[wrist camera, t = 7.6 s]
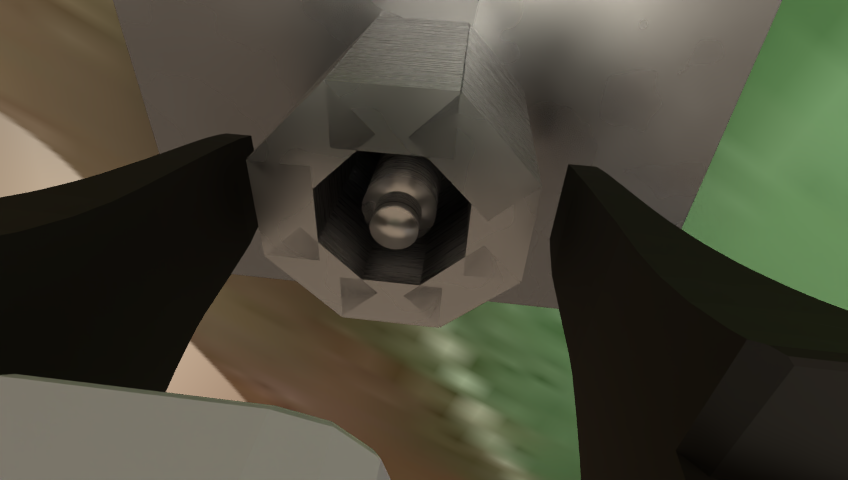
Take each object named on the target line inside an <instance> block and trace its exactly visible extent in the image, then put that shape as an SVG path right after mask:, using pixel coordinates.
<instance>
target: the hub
mask: <svg viewBox="0 0 848 480" xmlns="http://www.w3.org/2000/svg"><path fill="white" fill-rule="evenodd" d="M380 153H391V154H402V155H413V156H424V157H427V158H428V159H429V160H430V161H431V162H432V163H433V164H434V165H435V166H436V167H437V168H438V169H439V170H440V171H441V172H442V179H441V185H440V192H439V198H438V204H437V211H436V217H435V221H434V224H433V226H432V227H431V229H430V230H429V231H428V232H427V233H426V234H425V235H423V236H422V237H420V238H418V239H416V240H415V242H414V243H413V244H412V245H410V246H409V247H406V248H403V249H389V248H386V247H384V246H382V245H380V244H379V243H377V242H376V241H375V240H374V238H373V237H372V235H371V233H370V228H369V227H370V226H369V225H368V224H367V222H366V220H365V218H364V215H363V211H362V202H363V198H364V196H365V193H366V191H367V188H368V186H369V183H370V181H371V178H372V176H373V173H374V171H375V168H376V166H377V163H378V161H379V158H380V156H381V154H380ZM246 163H247V168H248V173H249V179H250V184H251V189H252V194H253V200H254V205H255V210H256V216H257V221H258V226H259V231H260V237H261V242H262V247H263V252H264V255H265V257H267V258H268V259H269V260H270V261H272V262H273V263H274V264H275V265H277V266H278V267H279V268H281V269H282V270H283V271H284V272H286V273H287V274H288V275H289V276H291V277H292V278H293V279H294V280H296V281H297V282H298V283H300V284H301V285H302V286H303V287H305V288H306V289H307V290H308V291H310V292H311V293H312V294H313V295H315V296H316V297H317V298H318V299H320V300H321V301H322V302H324V303H325V304H326V305H327V306H329V307H330V308H331V309H332V310H334V311H335V312H336V313H337V314H339V315H340V316H343V317H346V318H355V319H365V320H374V321H383V322H392V323H401V324H410V325H419V326H428V327H438V328H439V327H442V326H443V325H445V324H447V323H449V322H451V321H452V320H454V319H456V318H458V317H460V316H461V315H463V314H465V313H467V312H469V311H470V310H472V309H474V308H476V307H478V306H479V305H481V304H483V303H485V302H487V301H488V300H490V299H492V298H494V297H496V296H497V295H499V294H501V293H503V292H504V291H506V290H508V289H510V288H512V287H513V286H515V285H517V284H519V283H521V281H522V277H523V273H524V268H525V264H526V259H527V254H528V250H529V245H530V241H531V236H532V232H533V227H534V222H535V218H536V213H537V209H538V204H539V200H540V195H541V190H542V184H541V179H540V174H539V168H538V163H537V158H536V152H535V147H534V142H533V136H532V131H531V126H530V120H529V115H528V110H527V105H526V99H525V94H524V91H523V90H522V88H521V87H520V86H519V84H518V83H517V82H516V81H515V79H514V78H513V77H512V76H511V74H510V73H509V72H508V70H507V69H506V68H505V67H504V65H503V64H502V63H501V61H500V60H499V59H498V58H497V56H496V55H495V54H494V53H493V51H492V50H491V49H490V47H489V46H488V45H487V44H486V42H485V41H484V40H483V38H482V37H481V36H480V35H479V33H478V32H477V31H476V30H475V28H474V27H473V26H472V24H471V23H470V24H469V22H457V21H443V20H429V19H415V18H402V17H388V16H378V18H377V19H376V20H375V21H374V22H373V23H372V24H371V25H370V26H369V27H368V28H367V29H366V30H365V31H364V32H363V33H362V34H361V35H360V36H359V37H358V38H357V39H356V40H355V41H354V42H353V43H352V44H351V45H350V46H349V47H348V48H347V49H346V50H345V51H344V53H343V54H342V55H341V56H340V57H339V58H338V59H337V60H336V61H335V62H334V63H333V64H332V65H331V66H330V67H329V68H328V69H327V70H326V71H325V72H324V73H323V74H322V75H321V76H320V77H319V79H318V80H317V81H316V82H315V83H314V84H313V85H312V86H311V87H310V89H309V90H308V91H307V92H306V93H305V94H304V95H303V96H302V98H301V99H300V100H299V101H298V102H297V103H296V104H295V105H294V106H293V108H292V109H291V110H290V111H289V112H288V113H287V114H286V115H285V116H284V118H283V119H282V120H281V121H280V122H279V123H278V124H277V125H276V127H275V128H274V129H273V130H272V131H271V132H270V133H269V134H268V135H267V137H266V138H265V139H264V140H263V141H262V142H261V143H260V144H259V146H258V147H257V148H256V149H255V150H254V151H253V152H252V153H251V154H250V156H249V157H248V158H247V160H246Z"/></svg>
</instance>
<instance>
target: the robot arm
mask: <svg viewBox="0 0 848 480" xmlns="http://www.w3.org/2000/svg"><path fill="white" fill-rule="evenodd" d="M253 151H254V148H253V142H252V136H250V135H239V134H228V133H225V134H219V135H215V136H211V137H207V138H204V139H201V140H198V141H195V142H192V143H189V144H186V145H183V146H181V147H178V148H175V149H172V150H169V151H167V152H164V153H161V154H158V155H156V156H153V157H150V158H147V159H144V160H141V161H138V162H135V163H132V164H129V165H126V166H123V167H120V168H117V169H114V170H111V171H108V172H105V173H102V174H99V175H95V176H92V177H89V178H85V179H81V180H78V181H74V182H70V183H67V184H62V185H58V186H54V187H50V188H47V189H42V190H37V191H33V192H28V193H22V194H17V195H12V196H6V197H1V198H0V480H391V479H390V477H389V475H388V473H387V471H386V469H385V467H384V465H383V462H382V460H381V458H380V457H379V456H378V455H377V454H376V453H375V451H374V450H373V449H372V448H370V447H369V446H367V445H366V444H364V443H363V442H361V441H360V440H358V439H357V438H355V437H354V436H352V435H351V434H349V433H348V432H346V431H345V430H343V429H342V428H340V427H339V426H338V425H336V424H335V423H333V422H332V421H328V420H324V419H321V418H317V417H314V416H310V415H306V414H303V413H299V412H296V411H292V410H288V409H285V408H281V407H278V406H273V405H265V404H256V403H248V402H240V401H231V400H223V399H215V398H207V397H199V396H190V395H183V394H174V393H167V392H166V390H167V388H168V385H169V383H170V381H171V379H172V377H173V375H174V372H175V370H176V368H177V366H178V364H179V362H180V360H181V358H182V356H183V354H184V352H185V349H186V348H187V346H188V344H189V342H190V340H191V338H192V336H193V334H194V332H195V330H196V328H197V326H198V325H199V323H200V321H201V320H202V318H203V316H204V314H205V313H206V311H207V310H208V308H209V307H210V305H211V304H212V302H213V301H214V299H215V298H216V296H217V295H218V293H219V292H220V290H221V289H222V287H223V285H224V284H225V282H226V281H227V279H228V278H229V276H230V275H231V273H232V272H233V270H234V269H235V267H236V266H237V264H238V263H239V261H240V259H241V258H242V256H243V255H244V253H245V252H246V250H247V248H248V247H249V245H250V244H251V241H252V239H253V237H254V235H255V233H256V231H257V228H258V221H257V216H256V210H255V205H254V200H253V194H252V189H251V184H250V179H249V173H248V168H247V163H246V160H247V158H248V157H249V156H250V154H251V153H252V152H253ZM550 258H551V271H552V278H553V283H554V288H555V293H556V297H557V302H558V307H559V311H560V316H561V320H562V325H563V329H564V334H565V338H566V343H567V347H568V352H569V357H570V363H571V368H572V375H573V385H574V395H575V405H576V416H577V428H578V440H579V453H580V468H581V480H848V311H847V310H845V309H842V308H839V307H837V306H834V305H831V304H829V303H826V302H824V301H821V300H818V299H816V298H814V297H811V296H809V295H806V294H804V293H802V292H799V291H797V290H794V289H792V288H790V287H787V286H785V285H783V284H781V283H779V282H777V281H775V280H772V279H770V278H768V277H766V276H764V275H762V274H760V273H757V272H755V271H753V270H751V269H749V268H747V267H745V266H743V265H741V264H739V263H737V262H735V261H734V260H732V259H730V258H728V257H726V256H725V255H723V254H721V253H719V252H718V251H716V250H714V249H712V248H710V247H709V246H707V245H705V244H703V243H702V242H700V241H699V240H697V239H695V238H694V237H692V236H691V235H689V234H688V233H686V232H685V231H683V230H682V229H680V228H679V227H677V226H676V225H674V224H673V223H671V222H670V221H668V220H667V219H666V218H664V217H663V216H661V215H660V214H659V213H657V212H656V211H655V210H653V209H652V208H651V207H649V206H648V205H647V204H645V203H644V202H643V201H641V200H640V199H639V198H638V197H636V196H635V195H634V194H633V193H631V192H630V191H629V190H628V189H626V188H625V187H624V186H623V185H621V184H620V183H619V182H617V181H616V180H615V179H614V178H612V177H611V176H610V175H608V174H607V173H606V172H604V171H603V170H601V169H600V168H598V167H595V166H584V165H573V164H568V167H567V171H566V175H565V179H564V183H563V187H562V191H561V195H560V199H559V203H558V207H557V211H556V215H555V219H554V223H553V227H552V231H551V235H550Z"/></svg>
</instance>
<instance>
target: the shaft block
mask: <svg viewBox="0 0 848 480" xmlns="http://www.w3.org/2000/svg"><path fill="white" fill-rule="evenodd" d="M113 2H114V5H115V8H116V12H117V15H118V18H119V22H120V25H121V28H122V32H123V35H124V38H125V41H126V45H127V48H128V51H129V55H130V58H131V61H132V65H133V68H134V71H135V74H136V78H137V81H138V84H139V88H140V91H141V94H142V97H143V101H144V104H145V107H146V111H147V114H148V117H149V121H150V124H151V127H152V130H153V134H154V137H155V140H156V144H157V147H158V150H159V154H161V153H164V152H167V151H169V150H172V149H175V148H178V147H181V146H183V145H186V144H189V143H192V142H195V141H198V140H201V139H204V138H207V137H211V136H215V135H219V134H225V133H228V134H239V135H250V136H252V142H253V148H254V150H255V149H256V148H257V147H258V146H259V144H260V143H261V142H262V141H263V140H264V139H265V138H266V137H267V135H268V134H269V133H270V132H271V131H272V130H273V129H274V128H275V127H276V125H277V124H278V123H279V122H280V121H281V120H282V119H283V118H284V116H285V115H286V114H287V113H288V112H289V111H290V110H291V109H292V108H293V106H294V105H295V104H296V103H297V102H298V101H299V100H300V99H301V98H302V96H303V95H304V94H305V93H306V92H307V91H308V90H309V89H310V87H311V86H312V85H313V84H314V83H315V82H316V81H317V80H318V79H319V77H320V76H321V75H322V74H323V73H324V72H325V71H326V70H327V69H328V68H329V67H330V66H331V65H332V64H333V63H334V62H335V61H336V60H337V59H338V58H339V57H340V56H341V55H342V54H343V53H344V51H345V50H346V49H347V48H348V47H349V46H350V45H351V44H352V43H353V42H354V41H355V40H356V39H357V38H358V37H359V36H360V35H361V34H362V33H363V32H364V31H365V30H366V29H367V28H368V27H369V26H370V25H371V24H372V23H373V22H374V21H375V20H376V19H377V18H378V16H388V17H402V18H415V19H429V20H443V21H457V22H469V24H470V23H471V24H472V26H473V27H474V28H475V30H476V31H477V32H478V33H479V35H480V36H481V37H482V38H483V40H484V41H485V42H486V44H487V45H488V46H489V47H490V49H491V50H492V51H493V53H494V54H495V55H496V56H497V58H498V59H499V60H500V61H501V63H502V64H503V65H504V67H505V68H506V69H507V70H508V72H509V73H510V74H511V76H512V77H513V78H514V79H515V81H516V82H517V83H518V84H519V86H520V87H521V88H522V90H523V91H524V94H525V99H526V105H527V110H528V115H529V120H530V126H531V131H532V136H533V142H534V147H535V152H536V158H537V163H538V168H539V174H540V179H541V184H542V190H541V195H540V200H539V204H538V209H537V213H536V218H535V222H534V227H533V232H532V236H531V241H530V245H529V250H528V254H527V259H526V264H525V268H524V273H523V277H522V281H521V283H519V284H517V285H515V286H513V287H512V288H510V289H508V290H506V291H504V292H503V293H501V294H499V295H497V296H496V297H494V298H492V299H490V300H488V301H491V302H500V303H510V304H519V305H528V306H538V307H547V308H557V309H559V307H558V302H557V297H556V293H555V288H554V283H553V278H552V271H551V258H550V235H551V231H552V227H553V223H554V219H555V215H556V211H557V207H558V203H559V199H560V195H561V191H562V187H563V183H564V179H565V175H566V171H567V167H568V164H573V165H584V166H595V167H598V168H600V169H601V170H603V171H604V172H606V173H607V174H608V175H610V176H611V177H612V178H614V179H615V180H616V181H617V182H619V183H620V184H621V185H623V186H624V187H625V188H626V189H628V190H629V191H630V192H631V193H633V194H634V195H635V196H636V197H638V198H639V199H640V200H641V201H643V202H644V203H645V204H647V205H648V206H649V207H651V208H652V209H653V210H655V211H656V212H657V213H659V214H660V215H661V216H663V217H664V218H666V219H667V220H668V221H670V222H671V223H673V224H674V225H676V226H677V227H679V228H680V229H681V228H682V226H683V224H684V222H685V219H686V217H687V215H688V213H689V210H690V208H691V206H692V203H693V201H694V199H695V197H696V194H697V192H698V190H699V188H700V185H701V183H702V181H703V179H704V176H705V174H706V172H707V169H708V167H709V165H710V163H711V160H712V158H713V156H714V154H715V151H716V149H717V147H718V145H719V142H720V140H721V138H722V135H723V133H724V131H725V129H726V126H727V124H728V122H729V120H730V117H731V115H732V113H733V110H734V108H735V106H736V104H737V101H738V99H739V97H740V95H741V92H742V90H743V88H744V86H745V83H746V81H747V79H748V76H749V74H750V72H751V70H752V67H753V65H754V63H755V61H756V58H757V56H758V54H759V52H760V49H761V47H762V45H763V42H764V40H765V38H766V36H767V33H768V31H769V29H770V27H771V24H772V22H773V20H774V18H775V15H776V13H777V11H778V8H779V6H780V4H781V2H782V0H113ZM380 154H381V156H380V158H379V161H378V163H377V166H376V168H375V171H374V173H373V176H372V178H371V181H370V183H369V186H368V188H367V191H366V193H365V196H364V198H363V202H362V211H363V215H364V218H365V220H366V222H367V224H368V225H369V226H370V227H369V228H370V233H371V235H372V237H373V238H374V240H375V241H376V242H377V243H379V244H380V245H382V246H384V247H386V248H389V249H403V248H406V247H409V246H410V245H412V244H413V243H414V242H415V240H416V239H418V238H420V237H422V236H423V235H425V234H426V233H427V232H428V231H429V230H430V229H431V227H432V226H433V224H434V221H435V217H436V211H437V204H438V198H439V192H440V185H441V179H442V172H441V171H440V170H439V169H438V168H437V167H436V166H435V165H434V164H433V163H432V162H431V161H430V160H429V159H428V158H427V157H424V156H413V155H402V154H391V153H380ZM231 274H237V275H246V276H256V277H265V278H274V279H284V280H293V281H296V280H294V279H293V278H292V277H291V276H289V275H288V274H287V273H286V272H284V271H283V270H282V269H281V268H279V267H278V266H277V265H275V264H274V263H273V262H272V261H270V260H269V259H268V258H267V257H265V255H264V252H263V247H262V242H261V237H260V231H259V226H258V228H257V231H256V233H255V235H254V237H253V239H252V241H251V244H250V245H249V247H248V248H247V250H246V252H245V253H244V255H243V256H242V258H241V259H240V261H239V263H238V264H237V266H236V267H235V269H234V270H233V272H232V273H231Z"/></svg>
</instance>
